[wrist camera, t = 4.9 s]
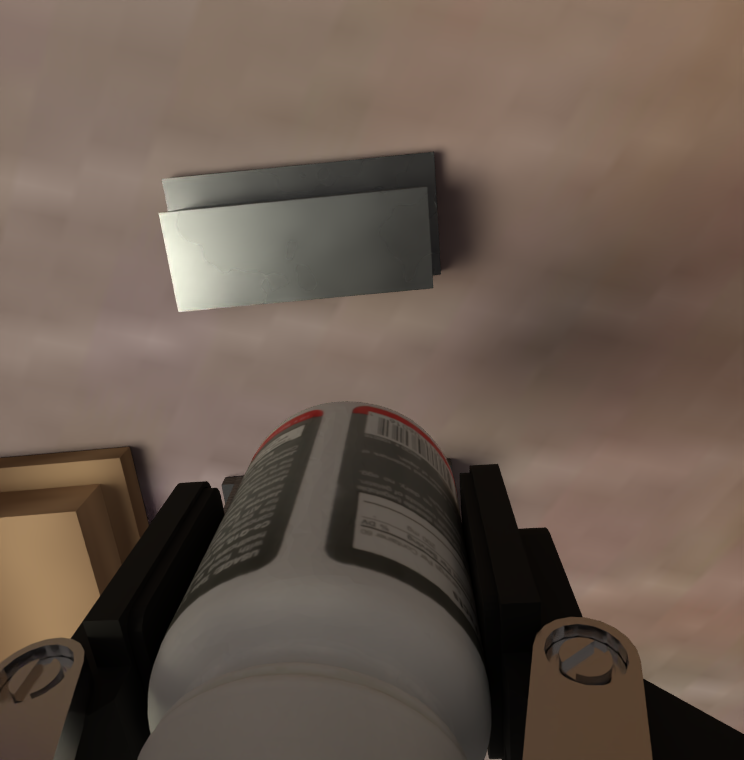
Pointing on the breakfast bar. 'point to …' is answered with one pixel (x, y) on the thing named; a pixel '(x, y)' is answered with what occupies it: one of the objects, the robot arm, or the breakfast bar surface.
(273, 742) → the pill bottle
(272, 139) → the breakfast bar surface
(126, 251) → the breakfast bar surface
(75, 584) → the tan square pedestal
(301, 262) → the clamp jaws
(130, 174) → the breakfast bar surface
